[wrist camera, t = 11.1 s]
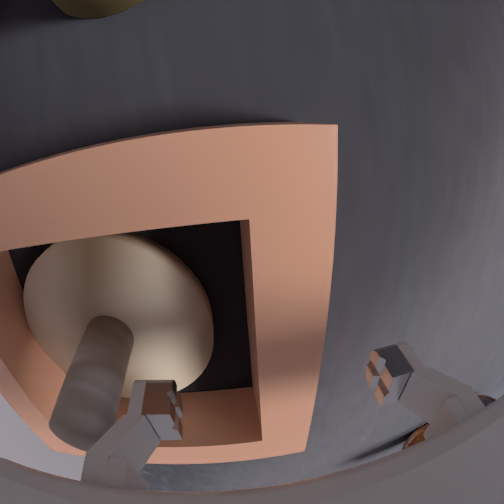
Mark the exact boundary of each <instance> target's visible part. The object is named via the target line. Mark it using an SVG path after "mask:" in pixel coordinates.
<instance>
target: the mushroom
mask: <svg viewBox="0 0 504 504" xmlns="http://www.w3.org/2000/svg"><path fill="white" fill-rule="evenodd" d="M23 300H24V309H25V315H26V318H27V321H28V324H29V327H30V329H31V331H32V333H33V336H34V337H35V339H36V341H37V342H38V344H39V345H40V347H41V348H42V349H43V351H44V352H45V353H46V355H47V356H48V357H49V358H50V359H51V360H52V361H53V362H54V363H55V364H56V365H57V366H58V367H59V368H60V369H62V370H63V371H64V372H66V373H67V374H66V377H65V379H64V382H63V385H62V387H61V390H60V392H59V395H58V398H57V401H56V403H55V406H54V409H53V412H52V415H51V418H50V421H49V428H50V430H51V431H52V432H53V433H54V434H55V435H56V436H57V437H58V438H59V439H61V440H62V441H63V442H65V443H67V444H69V445H70V446H73V447H75V448H77V449H80V450H83V451H86V452H87V451H88V450H89V449H90V448H91V447H92V446H93V445H94V444H95V443H96V442H97V441H98V440H99V439H100V438H101V437H102V436H103V435H104V434H105V433H106V432H107V431H108V430H109V429H110V428H111V427H112V426H113V425H114V424H115V423H116V418H117V413H118V408H119V403H120V398H121V397H126V398H130V396H131V391H132V386H133V383H134V381H135V380H175V382H176V384H177V391H179V390H181V389H183V388H185V387H187V386H188V385H190V384H191V383H192V382H194V381H195V380H196V379H197V378H198V377H199V376H200V375H201V374H202V372H203V371H204V370H205V368H206V367H207V365H208V363H209V361H210V358H211V355H212V351H213V343H214V331H213V314H212V309H211V305H210V301H209V299H208V297H207V294H206V292H205V290H204V288H203V286H202V285H201V283H200V281H199V279H198V278H197V277H196V276H195V274H194V273H193V272H192V270H191V269H190V268H189V267H188V266H187V265H186V264H185V263H184V262H183V261H182V260H181V259H180V258H179V257H178V256H176V255H175V254H174V253H173V252H171V251H170V250H169V249H167V248H166V247H164V246H162V245H161V244H159V243H158V242H156V241H154V240H152V239H150V238H148V237H145V236H143V235H141V234H138V233H135V232H127V233H119V234H112V235H104V236H97V237H89V238H82V239H75V240H68V241H62V242H55V243H53V244H52V245H51V246H49V247H48V248H47V249H46V250H45V251H44V252H43V253H42V254H41V255H40V256H39V257H38V258H37V259H36V261H35V262H34V264H33V265H32V267H31V268H30V270H29V273H28V275H27V277H26V281H25V285H24V294H23Z"/></svg>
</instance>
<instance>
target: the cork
mask: <svg viewBox="0 0 504 504" xmlns="http://www.w3.org/2000/svg"><path fill="white" fill-rule="evenodd" d="M52 1H53V2H54V3H55V4H56V5H57V6H58V7H59V8H60V9H61V10H62V11H63V12H64V13H65V14H66V15H70V16H73V17H77V18H80V19H88V18H102V17H106V16H109V15H112V14H116V13H120V12H123V11H125V10H127V9H129V8H131V7H133V6H135V5H137V4H139V3H141V2H143V1H145V0H52Z"/></svg>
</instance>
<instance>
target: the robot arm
mask: <svg viewBox="0 0 504 504" xmlns="http://www.w3.org/2000/svg"><path fill="white" fill-rule="evenodd" d="M369 358H370V359H371V361H370V362H369V363H368V364H367V367H366V379H367V382H368V384H369V386H370V387H372V388H373V389H375V392H374V396H375V398H376V400H377V401H378V403H379V405H380V407H381V406H384V405H387V404H390V403H394V402H397V401H398V402H399V403H400V404H402V405H403V406H404V407H406V408H407V409H409V410H410V411H412V412H413V413H415V414H416V415H418V416H419V417H420V418H422V419H423V420H425V421H426V422H428V423H429V424H430V425H429V426H428V427H427V429H426V430H425V431H424V434H423V436H424V438H425V440H424V441H422V442H420V443H417V444H415V445H413V446H411V447H408V448H406V449H404V450H401V451H399V452H396V453H394V454H391V455H388V456H386V457H383V458H380V459H377V460H375V461H372V462H369V463H366V464H363V465H360V466H356V467H353V468H350V469H346V470H343V471H339V472H336V473H332V474H328V475H324V476H320V477H316V478H311V479H307V480H302V481H297V482H292V483H286V484H280V485H274V486H267V487H260V488H252V489H242V490H231V491H215V492H162V491H150V484H149V483H148V482H147V481H146V480H145V479H144V478H143V477H142V476H141V475H140V474H139V472H140V470H141V469H142V468H143V466H144V465H145V463H146V462H147V461H148V459H149V458H150V456H151V455H152V453H153V452H154V451H155V449H156V448H157V446H158V445H159V443H160V442H161V441H160V440H182V436H183V425H182V422H181V420H180V419H181V417H182V416H183V403H182V398H181V395H180V393H179V392H178V391H177V384H176V382H175V380H135V381H134V383H133V386H132V391H131V396H130V401H129V406H128V412H127V415H123V416H122V417H121V418H120V419H119V420H118V421H117V422H116V423H115V424H114V425H113V426H112V427H111V428H110V429H109V430H108V431H107V432H106V433H105V434H104V435H103V436H102V437H101V438H100V439H99V440H98V441H97V442H96V443H95V444H94V445H93V446H92V447H91V448H90V449H89V450H88V451H87V452H86V456H85V461H84V465H83V471H82V476H81V481H77V480H72V479H68V478H64V477H60V476H56V475H52V474H49V473H45V472H42V471H38V470H35V469H32V468H29V467H26V466H23V465H20V464H17V463H15V462H12V461H10V460H7V459H4V458H0V504H504V395H503V396H501V397H500V398H499V399H497V400H496V401H494V402H493V403H491V404H490V405H488V406H486V407H485V406H484V404H483V403H482V401H481V400H480V398H479V397H478V396H477V394H476V393H475V391H474V390H473V389H472V387H471V386H468V385H466V384H464V383H462V382H460V381H458V380H455V379H453V378H451V377H449V376H447V375H445V374H443V373H441V372H438V371H436V370H434V369H432V368H430V367H425V366H424V365H423V364H422V362H421V361H420V359H419V358H418V357H417V355H416V354H415V353H414V351H413V350H412V348H411V347H410V346H409V344H408V343H407V342H401V343H398V344H394V345H390V346H386V347H383V348H379V349H376V350H373V351H372V352H371V353H370V356H369Z"/></svg>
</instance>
